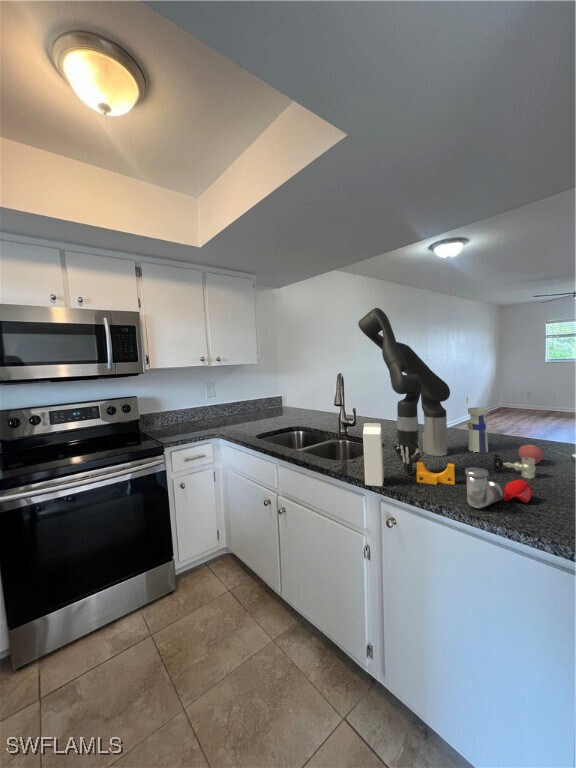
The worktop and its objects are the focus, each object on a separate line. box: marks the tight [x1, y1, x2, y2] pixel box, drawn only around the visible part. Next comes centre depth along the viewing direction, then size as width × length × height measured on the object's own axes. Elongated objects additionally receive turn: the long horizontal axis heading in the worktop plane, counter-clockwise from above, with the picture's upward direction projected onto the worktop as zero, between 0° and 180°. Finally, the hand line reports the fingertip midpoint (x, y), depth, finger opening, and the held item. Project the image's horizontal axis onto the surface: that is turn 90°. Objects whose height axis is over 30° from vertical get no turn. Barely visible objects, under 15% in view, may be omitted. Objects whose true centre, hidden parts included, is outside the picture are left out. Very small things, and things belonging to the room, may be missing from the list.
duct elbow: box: [464, 466, 505, 510], centre depth 92 cm, size 11×6×11 cm, turn 118°
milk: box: [362, 422, 384, 487], centre depth 113 cm, size 6×6×22 cm
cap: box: [503, 479, 534, 504], centre depth 94 cm, size 8×6×6 cm
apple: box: [518, 444, 544, 465], centre depth 123 cm, size 7×7×8 cm
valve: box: [492, 453, 537, 480], centre depth 113 cm, size 7×7×12 cm
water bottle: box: [466, 396, 489, 454], centre depth 141 cm, size 8×9×25 cm
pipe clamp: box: [416, 460, 456, 485], centre depth 111 cm, size 12×4×6 cm, turn 63°
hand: (408, 472), depth 119 cm, fingers closed
